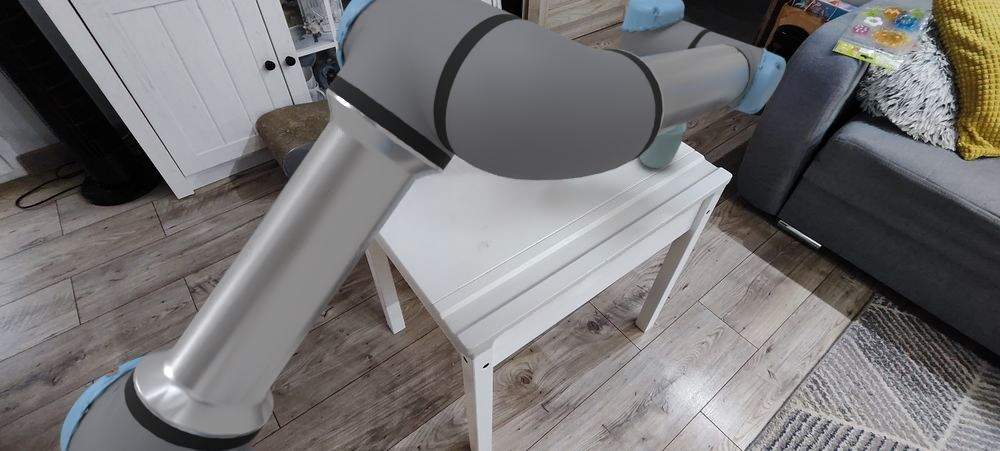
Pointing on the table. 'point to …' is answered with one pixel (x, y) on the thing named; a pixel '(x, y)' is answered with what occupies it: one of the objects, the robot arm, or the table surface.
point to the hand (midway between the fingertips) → (444, 73)
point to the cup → (664, 148)
